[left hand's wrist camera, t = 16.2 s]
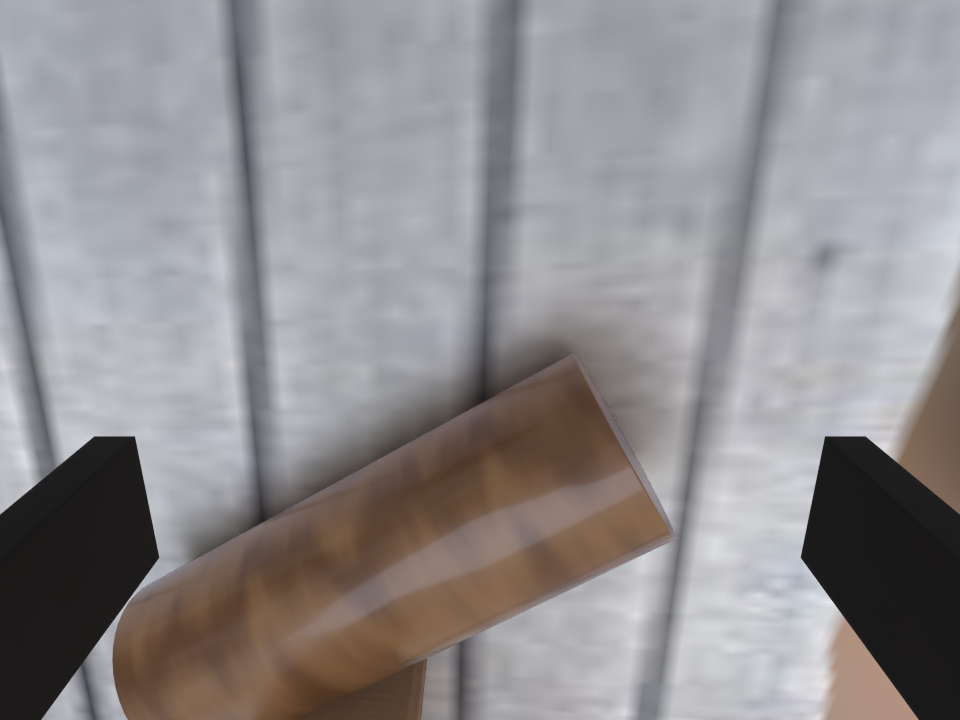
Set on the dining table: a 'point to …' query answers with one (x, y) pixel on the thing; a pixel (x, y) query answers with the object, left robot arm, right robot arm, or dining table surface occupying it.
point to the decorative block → (381, 699)
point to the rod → (395, 560)
